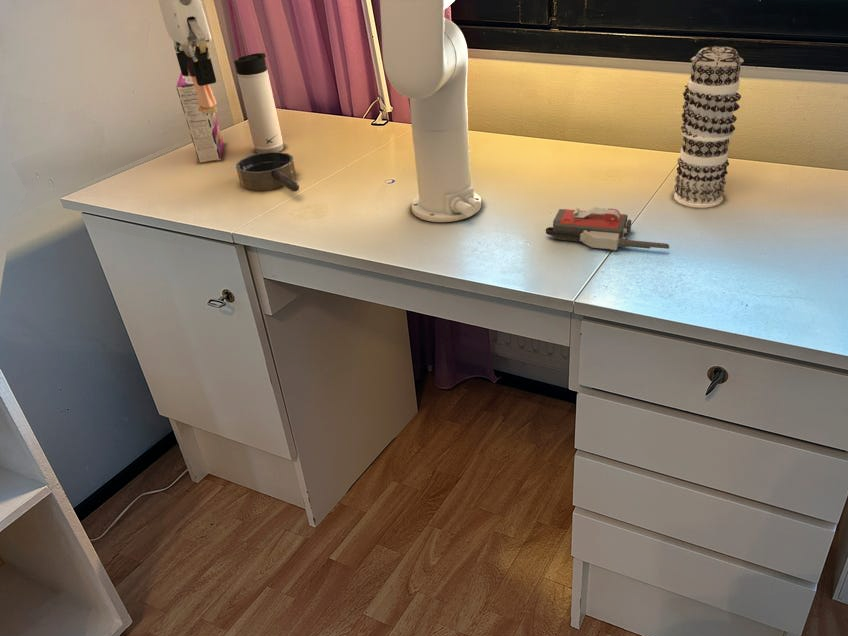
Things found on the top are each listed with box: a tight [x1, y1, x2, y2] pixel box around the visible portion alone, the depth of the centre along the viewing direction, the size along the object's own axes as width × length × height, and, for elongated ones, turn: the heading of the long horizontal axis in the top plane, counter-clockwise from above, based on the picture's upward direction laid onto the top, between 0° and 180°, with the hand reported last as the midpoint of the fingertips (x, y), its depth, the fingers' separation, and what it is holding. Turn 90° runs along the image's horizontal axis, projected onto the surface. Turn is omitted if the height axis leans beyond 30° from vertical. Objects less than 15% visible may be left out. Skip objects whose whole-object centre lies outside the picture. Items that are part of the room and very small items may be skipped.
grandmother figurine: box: [179, 40, 219, 114], centre depth 130 cm, size 8×4×13 cm, turn 47°
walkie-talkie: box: [545, 206, 670, 251], centre depth 118 cm, size 9×4×20 cm
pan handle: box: [273, 170, 300, 193], centre depth 139 cm, size 10×2×2 cm, turn 36°
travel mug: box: [234, 52, 285, 154], centre depth 156 cm, size 6×7×20 cm
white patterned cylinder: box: [673, 45, 744, 209], centre depth 123 cm, size 9×9×25 cm
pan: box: [235, 151, 297, 192], centre depth 146 cm, size 11×11×4 cm
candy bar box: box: [175, 72, 224, 164], centre depth 156 cm, size 11×5×16 cm, turn 13°
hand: (199, 78), depth 130 cm, fingers closed on grandmother figurine, 8 cm apart
